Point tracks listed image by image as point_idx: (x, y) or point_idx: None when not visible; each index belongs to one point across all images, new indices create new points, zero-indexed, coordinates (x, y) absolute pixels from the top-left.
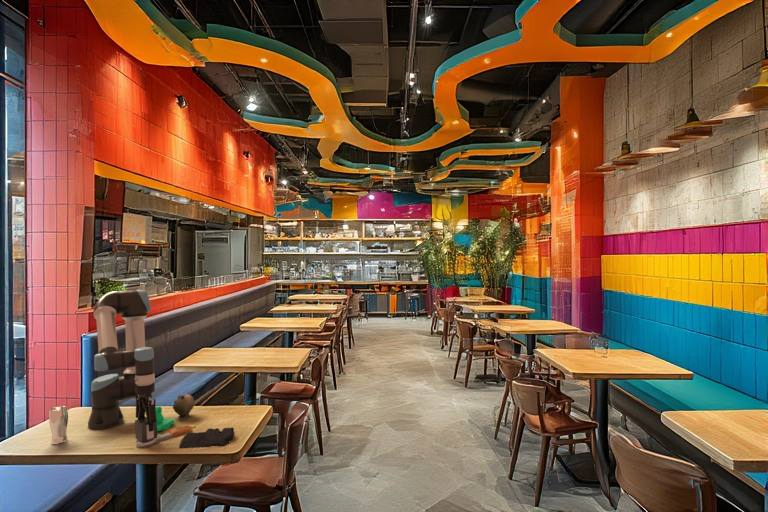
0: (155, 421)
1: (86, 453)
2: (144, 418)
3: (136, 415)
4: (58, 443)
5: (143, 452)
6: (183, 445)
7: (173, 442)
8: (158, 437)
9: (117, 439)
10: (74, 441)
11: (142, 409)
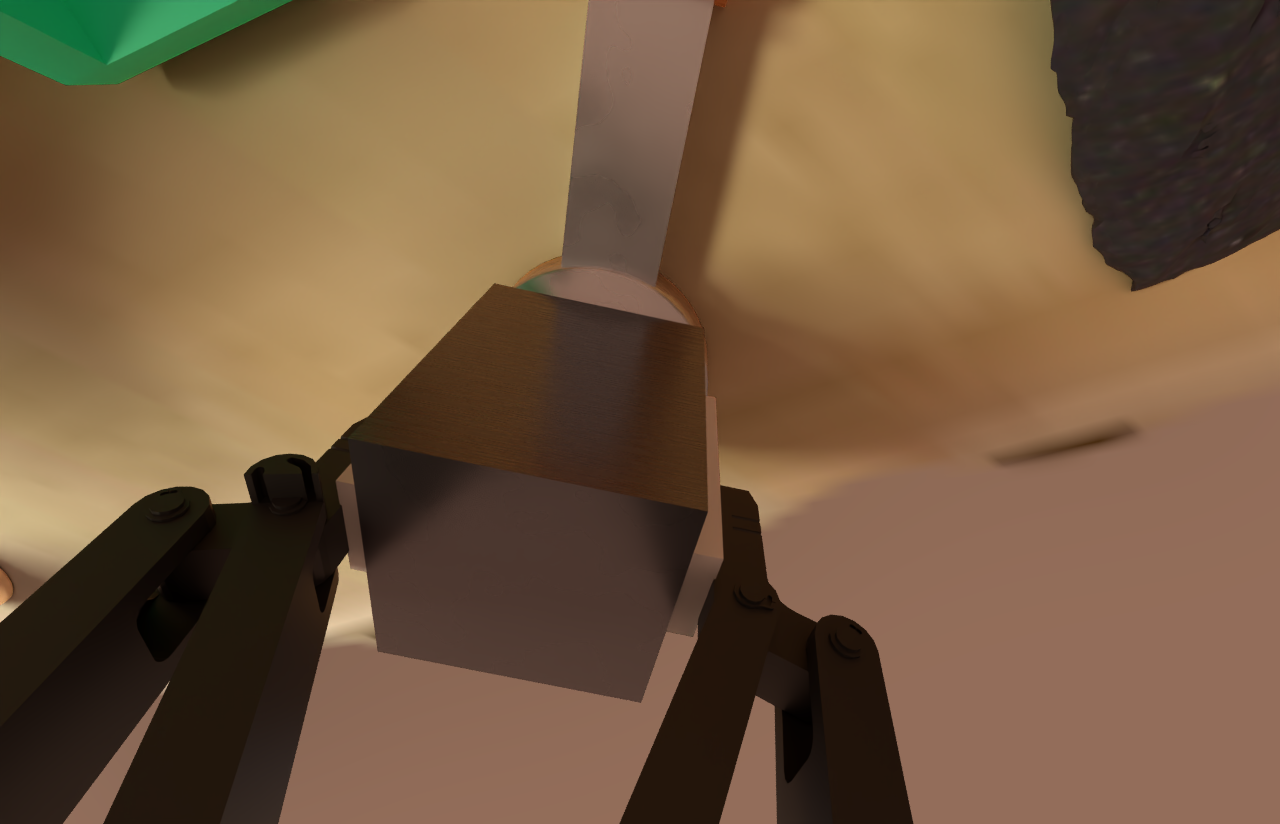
0: (868, 658)
1: (362, 622)
2: (404, 554)
3: (196, 611)
4: (8, 594)
5: (763, 498)
6: (1199, 251)
7: (898, 177)
8: (632, 240)
9: (198, 388)
10: (10, 532)
11: (266, 801)
